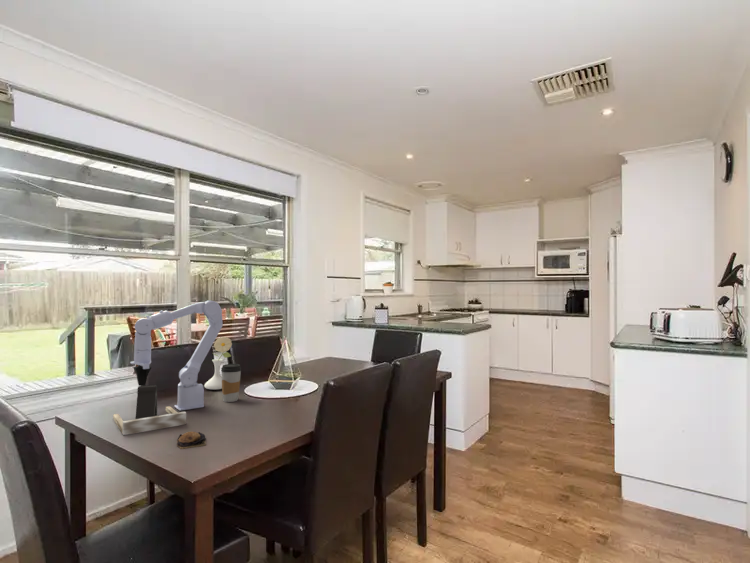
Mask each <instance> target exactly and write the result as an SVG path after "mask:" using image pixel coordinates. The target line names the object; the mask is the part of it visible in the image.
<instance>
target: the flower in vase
mask: <svg viewBox="0 0 750 563" xmlns="http://www.w3.org/2000/svg"><path fill="white" fill-rule="evenodd" d="M232 345H233V343H232V340H231V338H228V337H227V336H222V337H219V338H216V339H215V341H214V343H213V347H214V349H215V351H217V352H219V353H222V354H221V355H220V356H219V355H218V354H215V353H213V355H214V356H216V357H219V358H214V359H212V360H211V361H212V363H213V365H214V374H213V376H212V377H211V378H209V379H208V381H206V382H204V385H203V388H204V389H207V390H214V391H215V390H216V391H217V390H222V374H221V364H222V362H223V361H224V359H222V356H223V357H224V358H230V357H232V355H231V353H229V352H228V351H229V350H230V349H231V347H232Z"/></svg>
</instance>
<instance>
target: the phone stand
mask: <svg viewBox="0 0 750 563" xmlns="http://www.w3.org/2000/svg"><path fill="white" fill-rule="evenodd" d="M136 393H137V398H136V406H135V407H136V408H135V417H134V418H135V419H140V418H147V417H153V416H158V386H157V384H154V385H152V384H150V385H142V386H139V385H138V386H137V392H136Z"/></svg>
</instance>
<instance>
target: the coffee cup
mask: <svg viewBox="0 0 750 563" xmlns="http://www.w3.org/2000/svg"><path fill="white" fill-rule="evenodd" d="M241 372H242V367H241V364H239V363H226V364H222V367H220V373H221V377H222V389H221V391H222V392H221V393H222V400H223V402H225V403H233V402H237V401H238V399H239V395H240V386H241Z"/></svg>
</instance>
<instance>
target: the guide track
mask: <svg viewBox="0 0 750 563" xmlns="http://www.w3.org/2000/svg"><path fill="white" fill-rule="evenodd" d="M165 412H166V414H161V415H157V416H153V417H147V418H140V419H129V420H123V418H122V417H121V415H120V413H114V414H113V415H112V417H113V418H112V419H113V421H114V422H115V424H116V426H117V427H118V429H119V430H120V432H121V434H122V435H123V436H127V435H132V434H137V433H143V432H150V431H155V430H161V429H167V428H173V427H178V426H183V425H186V424H187V412H186V411H181V412H177V410H175V409H174V408H173V407H172V406H165Z"/></svg>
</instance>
